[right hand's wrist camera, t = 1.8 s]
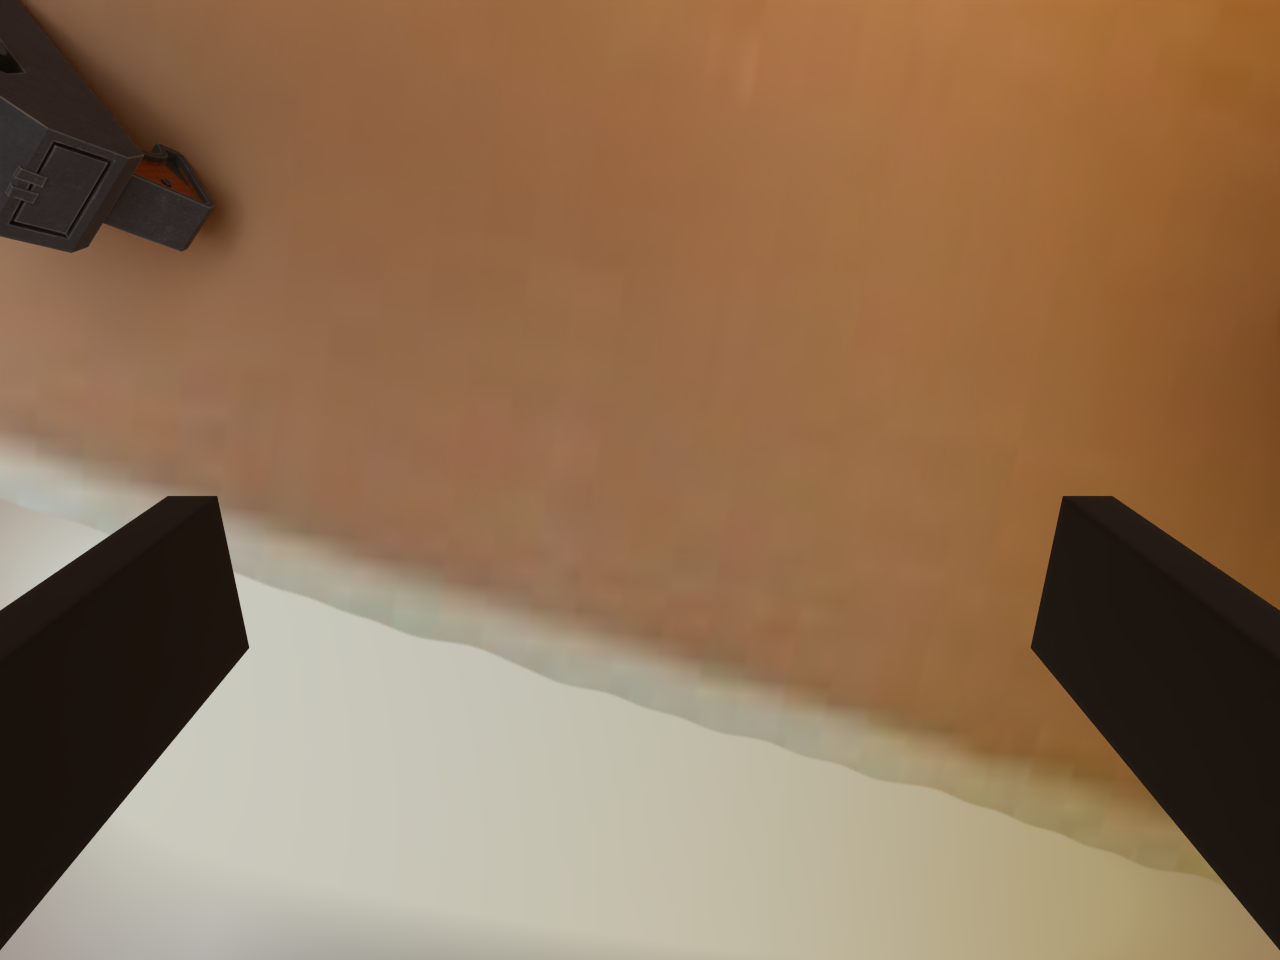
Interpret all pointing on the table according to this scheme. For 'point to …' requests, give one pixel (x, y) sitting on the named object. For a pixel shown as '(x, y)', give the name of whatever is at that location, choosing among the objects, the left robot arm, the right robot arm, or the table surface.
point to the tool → (79, 156)
